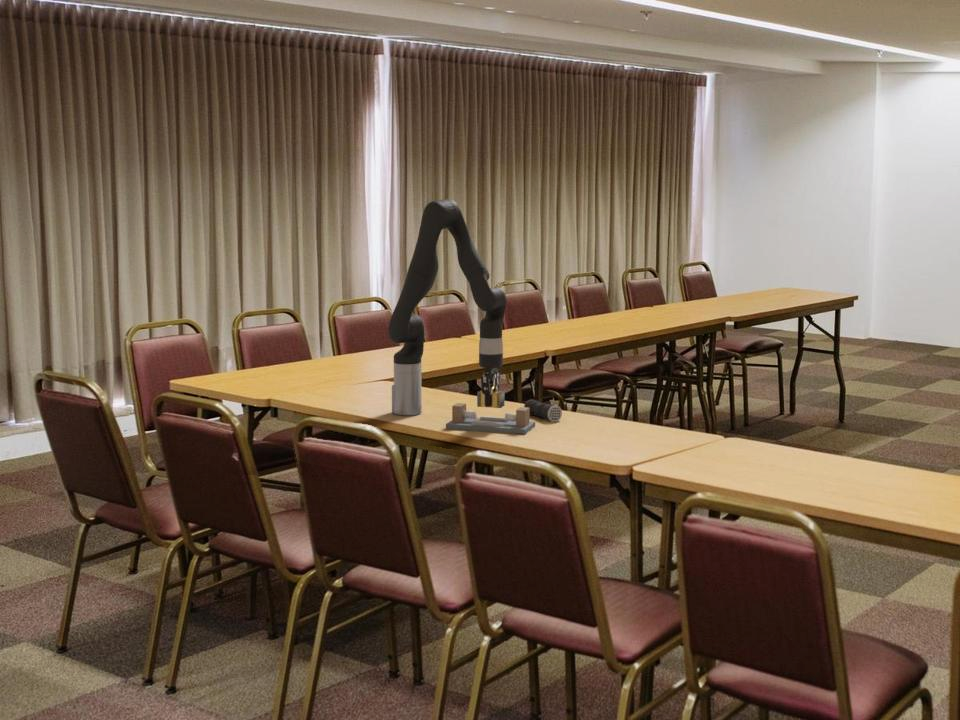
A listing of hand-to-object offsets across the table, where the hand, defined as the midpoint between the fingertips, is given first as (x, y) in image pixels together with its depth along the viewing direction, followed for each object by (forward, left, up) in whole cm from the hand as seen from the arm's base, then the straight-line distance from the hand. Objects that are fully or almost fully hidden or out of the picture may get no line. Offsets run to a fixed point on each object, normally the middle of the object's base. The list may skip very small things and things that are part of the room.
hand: (490, 404), depth 365 cm
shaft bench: (0, 0, -7) cm, 7 cm away
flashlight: (+12, +21, -8) cm, 25 cm away
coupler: (0, 0, 0) cm, 0 cm away
